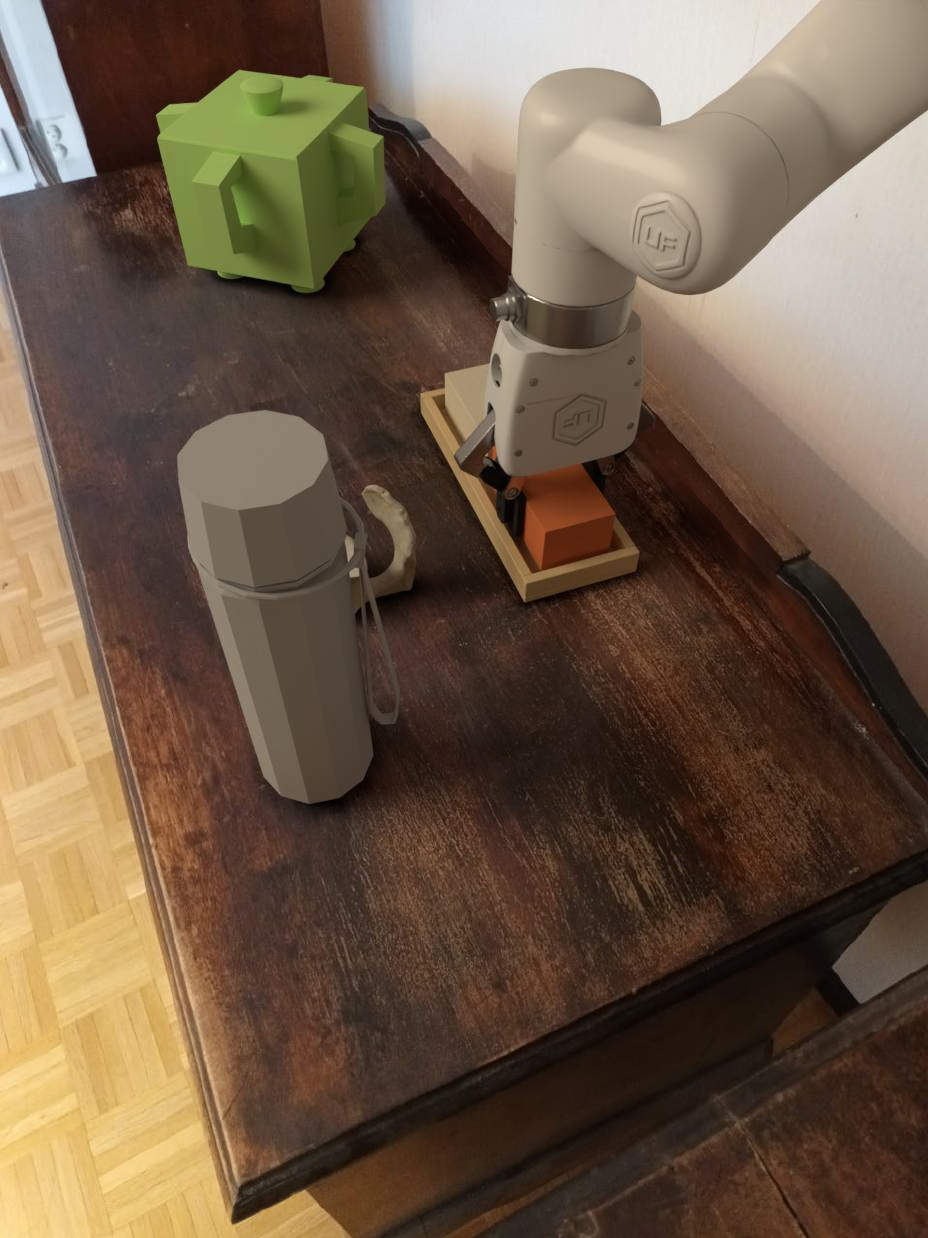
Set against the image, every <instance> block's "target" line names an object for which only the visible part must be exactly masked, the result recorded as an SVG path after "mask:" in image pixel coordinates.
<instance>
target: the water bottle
mask: <svg viewBox="0 0 928 1238" xmlns="http://www.w3.org/2000/svg"><path fill="white" fill-rule="evenodd" d="M176 460H177V461H176V462H177V463H176V464H177V479H178V486H179V492H180V499H181V503H182V509H183V516H184V520H185V527H186V531H187V548H188V551H189V554H190V557H191V560H192V562H193V563H194V564H195V566H196V569H197V571H198V575H199V579H200V582H201V585H202V588H203V591H204V594H205V598H206V601H207V604H208V607H209V610H210V613H211V616H212V619H213V623H214V626H215V629H216V633H217V635H218V639H219V641H220V646H221V647H222V651H223V653H224V654H223V655H224V658H225V660H226V664H227V667H228V670H229V672H230V676H231V679H232V683H233V685H234V688H235V692H236V695H237V697H238V701H239V705H240V707H241V711H242V714H243V716H244V720H245V723H246V726H247V729H248V732H249V735H250V738H251V742H252V746H253V748H254V751H255V754H256V757H257V760H258V764H259V766H260V770H261V774H262V776H263V778H264V779H265V780H266V781H267V782H268V783H269V784H270V786H271V787H272V788H273V789H274V790H275V791H276V792H277V793H278V795H280V797H283V798H287V799H290V800H294V801H297V802H299V803H300V802H301V803H304V804H308V805H311V804H312V805H313V804H316V803H321V802H325V801H330V800H331V801H332V800H336V799H340V798H341V797H343V796H344V795H345V794H346V793H348V792H349V791H350V790H352V789H353V788H354V787H356V786H357V785H358V784H360V783H361V782H362V781H363V780H365V779H364V778H365V776H366V774H367V772H368V769H369V766H370V765H371V762H372V760H373V758H374V748H373V741H372V734H371V725H370V718H369V717H370V716H369V713H370V715H371V716H372V717H373V719H374V721H376V722H377V723H379V724H380V725H395V724H396V722H397V719H398V717H399V711H400V694H401V688H400V687H401V686H400V683H399V681H398V676H397V673H396V669H395V666H394V663H393V659H392V656H391V651H390V647H389V644H388V641H387V638H386V637H387V636H386V634H385V631H384V627H383V623H382V620H381V616H380V612H379V609H378V606H377V601H376V598H374V594H373V591H372V587H371V583H370V580H369V578H370V576H369V573H368V569H366V566H365V562H364V557H365V558H366V550H367V549H366V548H367V543H368V542H367V540H368V536H369V535H368V534H369V533H367V532H365V523H364V521H363V520H362V519H361V517H360V516H359V514H358V513H357V511H356V510H355V508H354V506H353V505H352V504H351V503H349V502H348V501H347V500H345V499H344V498H342V497H341V496H340V494H339V490H338V487H337V482H336V479H335V474H334V471H333V468H332V464H331V460H330V455H329V452H328V449H327V444H326V441H325V437H324V434H323V433H322V432H320V431H319V430H317V429H316V428H315V427H314V426H312V425H311V424H310V423H309V422H307V421H306V420H304V418H302V417H301V416H297V415H293V414H287V413H282V412H277V411H272V410H267V409H264V410H263V409H262V410H256V411H255V410H254V411H249V412H241V413H233V414H227V415H225V416H223V417H221V418H219V419H217V420H215V421H214V422H211V423H210V424H207V425H205V426H203V427H202V428H199V429H198V430H195V431H194V433H193V434H192V435H191V437H190V438H189V439H188V440H187V442H186V443H185V444H184V446H183V447H182V448H181V450H180V451H179V452H178V454H177V455H176ZM343 509H344V510H345V512H346V513H347V514H348V515H349V516H350V518H351V520H352V521H353V523H354V525H355V530H356V532H355V534H354V540H355V541H354V554H353V556H352V557H351V559H350V560H349V562H348V558H347V551H346V545H345V539H346V535H347V531H348V529H347V524H346V519H345V516H344V511H343ZM354 568H359V581H360V596H361V607H360V608H361V609H360V611H361V623H362V639H363V652H364V654H363V655H364V666H365V668H364V669H365V680H366V689H365V680H364V673H363V665H362V658H361V657H362V656H361V651H360V650H361V649H360V643H359V642H360V641H359V635H358V628H357V620H356V613H355V611H354V604H353V596H352V589H351V581H350V574H349V572H350V571H351V570H353V569H354ZM363 579H364V582H365V586H366V590H367V593H368V597H369V601H368V602H369V604H370V608H371V611H372V615H373V619H374V622H375V626H376V630H377V633H378V637H379V641H380V644H381V648H382V652H383V655H384V660H385V662H386V666H387V670H388V675H389V677H390V682H391V686H392V688H393V692H394V695H395V700H396V701H395V706H394V709H393V712H385V713H382V712H381V711H380V710H379V708H378V707H377V705H376V704H375V703H374V694H373V693H374V692H373V681H372V669H371V658H370V657H371V655H370V644H369V634H368V622H367V621H368V620H367V610H366V609H367V608H366V603H365V596H364V584H363ZM366 694H367V695H366ZM368 708H369V711H368Z"/></svg>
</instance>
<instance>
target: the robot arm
mask: <svg viewBox="0 0 928 1238" xmlns="http://www.w3.org/2000/svg"><path fill="white" fill-rule="evenodd" d="M927 111H928V0H820V1H819V2H818V3H817V4H816V5H815V6H814V7H812V9H811V10H810V11H809V12H808V13H807V14H806V15H805V16H804V17H803V18H802V19H801V20H800V21H799V22H797V24H796V25H794V27H793V28H792V29H791V30H790V31H789V32H788V33H787V34H786V35H784V37H783V38H782V39H781V40H780V41H779V42H778V43H776V45H775V46H774V47H773V48H772V49H771V50H769V51H768V52H767V53H766V54H765V56H763V57H762V58H761V59H760V60H759V61H758V62H757V63H756V64H755V65H754V66H753V67H752V68H751V69H750V70H749V71H747V73H745V74H744V75H743V76H742V77H741V78H739V80H738V81H736V82H735V83H734V84H733V85H732V86H731V87H729V88H728V89H727V90H725V91H723V92H722V93H721V94H719V95H718V96H716V97H715V98H713V99H712V100H711V101H709V102H708V103H706V104H705V105H704V106H702V107H701V108H700V109H699V110H697V111H696V112H695V113H693V114H692V115H690V116H689V117H688V118H684V119H681V120H678V121H674V122H669V123H667V124H663V125H662V122H663V121H662V108H661V104H660V101H659V98H658V96H657V95H656V93H655V92H654V90H653V89H652V87H650V86H649V85H648V84H647V83H646V82H644V81H643V80H641V79H640V78H638V77H636V76H634V75H632V74H628V73H625V72H622V71H618V70H614V69H610V68H609V69H608V68H603V67H575V68H568V69H563V70H559V71H555V72H552V73H550V74H547V75H544V76H543V77H541V78H540V79H538V80H537V81H536V82H535V83H534V84H532V85H531V87H530V88H529V89H528V91H527V92H526V94H525V96H524V98H523V100H522V102H521V107H520V111H519V116H518V117H519V119H518V127H517V128H518V129H517V130H518V131H517V149H516V169H515V172H516V173H515V190H514V191H515V193H514V211H513V212H514V213H513V233H512V253H511V254H512V255H511V275H507V289H506V291H505V293H502V294H501V295H500V296H497V297H494V298H490V299H489V314H490V316H491V319H492V321H493V322H499V324H498V328H497V331H496V334H495V338H494V341H493V345H492V349H491V354H490V359H489V363H488V364H489V369H488V375H487V383H486V391H485V401H484V415H483V421H482V422H481V423H480V424H479V425H478V427H477V428H476V429H475V430H474V431H473V432H472V434H471V435H470V436H469V437H468V438H467V440H466V441H465V442H464V443H463V444H462V445H461V447H460V448H459V449H458V450H457V451H456V453H455V454H454V459H455V461H456V462H457V464H458V466H459V468H460V470H462V471H463V472H466V473H468V474H470V475H472V476H474V477H476V478H477V477H478V478H480V479H482V480H483V482H484V483H486V484H487V485H489V486H491V487H493V488H494V489H496V490H497V495H496V512H497V516H498V518H499V520H500V522H501V523H502V524H504V523H507V525H508V527H509V529H510V530H511V532H512V534H513V536H514V537H519V536H522V534H523V528H524V515H525V502H526V496H525V494H524V493H523V491H522V487H523V485H524V483H525V480H526V478H527V476H530V475H534V474H539V473H543V472H547V471H552V470H556V469H560V468H564V467H568V466H572V465H576V464H580V463H581V464H582V466H583V467H584V469H585V470H586V472H587V473H588V475H589V476H590V478H591V479H592V481H593V482H594V483H595V484H596V486H597V487H598V489H599V490H600V492H601V493H602V495H603V496H605V488H606V482H607V477H608V475H611V474H612V473H613V472H614V471H615V470H616V467H617V465H616V462H617V461H618V460H619V459H620V458H621V457H622V456H623V455H624V454H625V453H627V451H628V450H630V448H631V447H632V446H633V444H634V441H635V439H638V438H639V437H640V436H642V434H644V433H645V432H646V431H647V430H648V429H649V428H651V427H652V426H653V425H654V423H655V421H656V416H655V415H654V414H653V412H652V411H651V410H650V409H649V408H648V406H647V405H646V404H644V402H642V398H643V383H644V340H643V326H642V320H641V317H640V316H639V314H638V313H637V312H636V311H635V310H634V309H633V306H634V305H633V304H634V299H635V298H634V297H635V291H636V287H637V286H636V285H637V278H640V279H641V280H643V281H645V282H646V283H648V284H650V285H652V286H654V287H656V288H658V289H659V290H663V291H666V292H669V293H672V294H676V295H682V296H695V295H703V294H707V293H710V292H713V291H714V290H717V289H718V288H721V287H722V286H723V285H725V284H727V283H728V282H729V281H731V280H732V279H734V278H735V277H736V276H738V274H739V273H740V272H741V271H742V270H743V269H744V268H745V267H746V266H747V265H748V264H749V263H750V262H751V261H752V260H753V259H754V258H756V256H757V255H758V254H760V253H761V252H762V251H763V250H764V249H765V248H766V247H767V246H768V245H769V243H770V242H771V241H772V240H773V239H774V238H775V237H776V236H777V235H778V234H779V233H780V232H781V231H782V230H783V229H784V228H786V227H787V226H788V224H790V223H791V221H792V220H793V219H795V217H797V216H798V215H799V214H800V213H801V212H802V211H803V210H804V209H806V208H807V207H808V206H809V205H810V204H811V203H812V202H813V201H815V199H817V198H818V197H819V196H820V195H821V194H823V193H824V192H825V191H826V190H827V189H828V188H830V187H831V186H833V184H835V183H836V182H837V181H838V180H839V179H841V178H842V177H844V176H845V175H846V174H847V173H848V172H849V171H851V170H852V169H854V168H855V167H856V166H857V165H858V164H860V163H861V162H862V161H864V160H865V159H866V158H867V157H868V156H870V155H872V154H873V153H874V152H876V150H878V149H879V148H880V147H881V146H883V145H884V144H886V143H887V142H888V141H889V140H890V139H892V138H893V137H894V136H896V135H897V134H899V132H901V131H902V130H903V129H905V128H906V127H907V126H909V125H910V124H911V123H913V122H914V121H915V120H917V119H918V118H919V117H921V116H922V115H924V114H925V113H926V112H927ZM494 445H495V446H496V452H497V456H496V459H495V461H494V460H492V459H491V458H489V457H487V456H485V455H486V454H487V453H488V452H489V451H490V450H491V449H492V447H493V446H494Z"/></svg>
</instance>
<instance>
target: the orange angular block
mask: <svg viewBox="0 0 928 1238" xmlns="http://www.w3.org/2000/svg"><path fill="white" fill-rule="evenodd" d="M496 456H497V452H496V446H495V445H494V446H493V456H492V460H494V461H495V459H496ZM494 490H495V492H496V493H497V490H496V489H494ZM522 491H523V493H524V494H525V496H526V502H525V515H524V528H523V534H522V536H521V537H522V538H523V540H524V542H525V544H526V545H527V547H528V549H529V551H530V552H531V554H532V556H533V558H534V559H535V561H536V563H537V564H538V566H539V568H540V570H541V571H543V570H547V569H551V568H554V567H558V566H561V565H565V564H569V563H572V562H576V561H579V560H583V559H587V558H590V557H594V556H598V555H601V554H605V553H608V552H609V548H610V542H611V537H612V531H613V525H614V520H615V516H616V512H615V510H614V509H613V508H612V506H611V505H610V503H609V502H608V501H607V499H606V497H605V495H602V493H601V492H600V490H599V489H598V487H597V486H596V484H595V483H594V482H593V481H592V479H591V478H590V476H589V475H588V473H587V472H586V470H585V469H584V467H583V466H582V464H581V463H580V464H576V465H572V466H568V467H564V468H560V469H556V470H552V471H547V472H543V473H539V474H534V475H530V476H527V478H526V480H525V483H524V485H523V487H522Z"/></svg>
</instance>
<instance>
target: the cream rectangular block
mask: <svg viewBox="0 0 928 1238" xmlns="http://www.w3.org/2000/svg"><path fill="white" fill-rule="evenodd" d="M488 369H489V363H486V364H482V365H476V366H472V367H467V368H462V369H459V370H458V369H457V370H453V371H448V372H445V373H444V388H445V412H446V414H447V415H448V417H449V419H450V421H451V422H452V424H453V426H454V428H455V429H456V431H457V433H458V435H459V436H460V438H461V440H462V442H463V443H464V442H465V441H466V440H467V438H468V437H469V436H470V435H471V434H472V432H473V431H474V430H475V429H476V428H477V427H478V425H479V424H480V423H481V422H482V421H483V415H484V401H485V391H486V383H487V375H488ZM485 456H487V457H489V458H491V459H492V456H493V447H492V449H491V450H490V451H489V452H488V453H487V454H486V455H485Z"/></svg>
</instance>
